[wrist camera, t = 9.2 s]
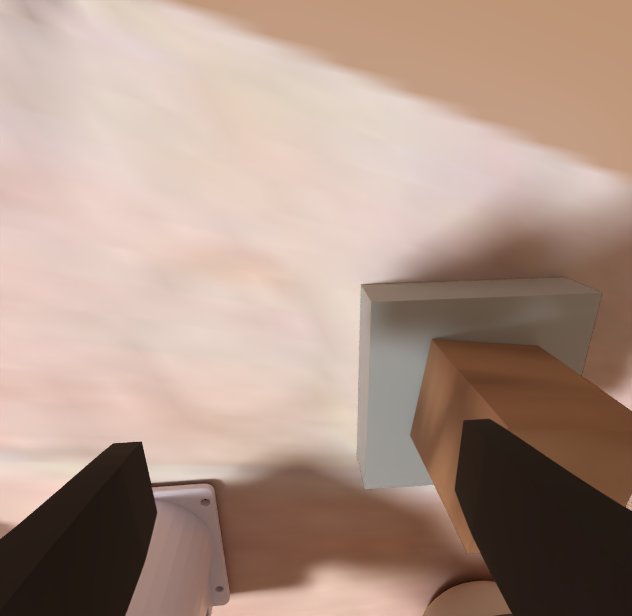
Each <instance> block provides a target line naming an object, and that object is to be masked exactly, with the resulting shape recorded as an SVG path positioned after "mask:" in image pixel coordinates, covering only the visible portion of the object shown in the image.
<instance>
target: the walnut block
mask: <svg viewBox="0 0 632 616" xmlns="http://www.w3.org/2000/svg"><path fill="white" fill-rule="evenodd" d="M475 419H491V420H493V421H494V422H496V423H498V424H499V425H501V426H502V427H504V428H505V429H507V430H508V431H510V432H511V433H513V434H514V435H516V436H517V437H519V438H520V439H522V440H523V441H525V442H526V443H528V444H529V445H531V446H532V447H534V448H535V449H536V450H538V451H539V452H541V453H542V454H544V455H545V456H547V457H548V458H550V459H551V460H553V461H554V462H556V463H557V464H559V465H560V466H562V467H563V468H565V469H566V470H568V471H569V472H571V473H572V474H574V475H575V476H577V477H578V478H580V479H581V480H583V481H584V482H586V483H587V484H589V485H591V486H592V487H594V488H595V489H597V490H598V491H600V492H602V493H603V494H605V495H606V496H608V497H609V498H611V499H613V500H614V501H616V502H618V503H619V504H621V505H623V506H624V507H626V505H627V503H628V500H629V498H630V496H631V494H632V411H631V410H629V409H628V408H626V407H625V406H624V405H622V404H621V403H619V402H618V401H617V400H615V399H614V398H612V397H611V396H609V395H608V394H607V393H605V392H604V391H602V390H601V389H599V388H598V387H597V386H595V385H594V384H592V383H591V382H589V381H588V380H587V379H585V378H584V377H582V376H581V375H579V374H578V373H577V372H575V371H574V370H572V369H571V368H569V367H568V366H567V365H565V364H564V363H562V362H561V361H560V360H558V359H557V358H555V357H554V356H552V355H551V354H550V353H548V352H547V351H545V350H544V349H542V348H541V347H540V346H534V345H518V344H501V343H484V342H468V341H451V340H434V339H432V340H431V344H430V349H429V353H428V357H427V362H426V366H425V371H424V375H423V380H422V384H421V388H420V393H419V397H418V402H417V406H416V411H415V415H414V419H413V424H412V428H411V433H410V437H411V439H412V441H413V443H414V445H415V447H416V449H417V451H418V453H419V455H420V457H421V459H422V461H423V463H424V465H425V467H426V469H427V471H428V473H429V476H430V478H431V480H432V482H433V484H434V486H435V488H436V490H437V492H438V494H439V496H440V498H441V500H442V502H443V504H444V506H445V508H446V510H447V512H448V514H449V517H450V519H451V521H452V523H453V525H454V527H455V529H456V531H457V533H458V535H459V537H460V539H461V541H462V543H463V545H464V547H465V549H466V551H467V553H480V551H479V549H478V547H477V545H476V543H475V541H474V539H473V537H472V535H471V532H470V530H469V527H468V525H467V522H466V520H465V517H464V515H463V512H462V509H461V506H460V504H459V501H458V498H457V495H456V492H455V482H456V474H457V466H458V459H459V451H460V443H461V435H462V428H463V420H475Z"/></svg>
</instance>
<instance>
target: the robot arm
mask: <svg viewBox="0 0 632 616" xmlns="http://www.w3.org/2000/svg"><path fill="white" fill-rule="evenodd" d="M455 492H456V495H457V498H458V501H459V504H460V506H461V509H462V512H463V515H464V517H465V520H466V522H467V525H468V527H469V530H470V532H471V535H472V537H473V539H474V541H475V543H476V545H477V547H478V549H479V551H480V553H481V555H482V557H483V559H484V561H485V563H486V565H487V567H488V569H489V571H490V573H491V575H492V576H493V578H494V580H495V582H496V584H497V586H498V588H499V590H500V592H501V594H502V596H503V598H504V600H505V602H506V604H507V605H508V607H509V609H510V611H511V613H512V615H513V616H632V511H631V510H629V509H627V508H626V507H624V506H623V505H621V504H619V503H618V502H616V501H614V500H613V499H611V498H609V497H608V496H606V495H605V494H603V493H602V492H600V491H598V490H597V489H595V488H594V487H592V486H591V485H589V484H587V483H586V482H584V481H583V480H581V479H580V478H578V477H577V476H575V475H574V474H572V473H571V472H569V471H568V470H566V469H565V468H563V467H562V466H560V465H559V464H557V463H556V462H554V461H553V460H551V459H550V458H548V457H547V456H545V455H544V454H542V453H541V452H539V451H538V450H536V449H535V448H534V447H532V446H531V445H529V444H528V443H526V442H525V441H523V440H522V439H520V438H519V437H517V436H516V435H514V434H513V433H511V432H510V431H508V430H507V429H505V428H504V427H502V426H501V425H499V424H498V423H496V422H494V421H493V420H491V419H475V420H463V428H462V435H461V443H460V451H459V459H458V466H457V474H456V482H455ZM204 499H208V500H204ZM229 598H230V590H229V584H228V577H227V570H226V564H225V557H224V550H223V544H222V537H221V530H220V524H219V517H218V510H217V504H216V497H215V490H214V488H213V487H212V486H211V485H209V484H191V485H177V486H164V487H152V486H151V481H150V477H149V472H148V468H147V463H146V459H145V454H144V450H143V445H142V442H128V443H113V444H112V445H111V446H110V447H108V448H107V449H106V450H105V451H103V452H102V453H101V454H100V455H99V456H97V457H96V458H95V459H94V460H93V461H92V462H90V463H89V464H88V465H87V466H86V467H85V468H84V469H82V470H81V471H80V472H79V473H78V474H77V475H75V476H74V477H73V478H72V479H71V480H70V481H69V482H67V483H66V484H65V485H64V486H63V487H62V488H61V489H59V490H58V491H57V492H56V493H55V494H54V495H52V496H51V497H50V498H49V499H48V500H47V501H45V502H44V503H43V504H42V505H41V506H40V507H38V508H37V509H36V510H35V511H34V512H33V513H31V514H30V515H29V516H28V517H27V518H26V519H24V520H23V521H22V522H21V523H20V524H18V525H17V526H16V527H15V528H14V529H12V530H11V531H10V532H9V533H7V534H6V535H5V536H4V537H2V538H1V539H0V616H211V613H212V607H213V606H218V605H225V604H226V603H228V602H229Z"/></svg>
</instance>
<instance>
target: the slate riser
mask: <svg viewBox="0 0 632 616" xmlns="http://www.w3.org/2000/svg"><path fill="white" fill-rule="evenodd" d="M601 296H602V292H599V291H597V290H595V289H592V288H590V287H587V286H585V285H583V284H580V283H578V282H575V281H573V280H571V279H568V278H566V277H548V278H522V279H495V280H469V281H442V282H416V283H389V284H363V285H361V299H360V340H359V382H358V423H357V458H358V463H359V467H360V471H361V475H362V479H363V484H364V488H365V489H379V488H393V487H408V486H422V485H434V484H433V482H432V480H431V478H430V476H429V473H428V471H427V469H426V467H425V465H424V463H423V461H422V459H421V457H420V455H419V453H418V451H417V449H416V447H415V445H414V443H413V441H412V439H411V437H410V433H411V428H412V424H413V419H414V415H415V411H416V406H417V402H418V397H419V393H420V388H421V384H422V380H423V375H424V371H425V366H426V362H427V357H428V353H429V349H430V344H431V340H432V339H434V340H451V341H468V342H484V343H501V344H518V345H534V346H540V347H541V348H542V349H544V350H545V351H547V352H548V353H550V354H551V355H552V356H554V357H555V358H557V359H558V360H560V361H561V362H562V363H564V364H565V365H567V366H568V367H569V368H571V369H572V370H574V371H575V372H577V373H578V374H579V375H581V376H582V372H583V368H584V364H585V360H586V356H587V352H588V348H589V344H590V340H591V336H592V332H593V328H594V324H595V320H596V316H597V312H598V308H599V304H600V300H601Z"/></svg>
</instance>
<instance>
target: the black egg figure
mask: <svg viewBox="0 0 632 616" xmlns="http://www.w3.org/2000/svg"><path fill="white" fill-rule="evenodd" d="M423 616H513V615H512V613H511V611H510V609H509V607H508V605H507V604H506V602H505V600H504V598H503V596H502V594H501V592H500V590H499V588H498V586H497V584H496V582H492V581H472V582H467V583H463V584H459V585H457V586H454V587H452V588H450V589H448V590H446V591H445V592H443V593H442V594H440V595H439V596H438V597H437V598H436V599H435V600H434V601H433V602H432V603H431V604H430V605H429V606H428V608H427V609H426V611H425V612H424V614H423Z"/></svg>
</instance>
